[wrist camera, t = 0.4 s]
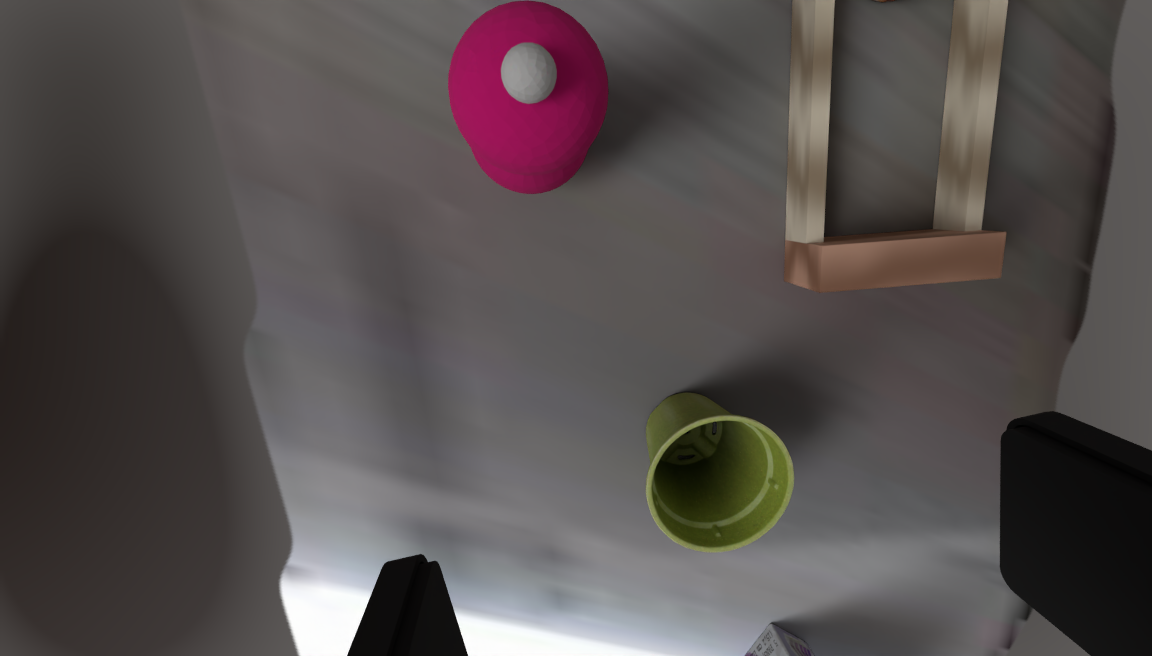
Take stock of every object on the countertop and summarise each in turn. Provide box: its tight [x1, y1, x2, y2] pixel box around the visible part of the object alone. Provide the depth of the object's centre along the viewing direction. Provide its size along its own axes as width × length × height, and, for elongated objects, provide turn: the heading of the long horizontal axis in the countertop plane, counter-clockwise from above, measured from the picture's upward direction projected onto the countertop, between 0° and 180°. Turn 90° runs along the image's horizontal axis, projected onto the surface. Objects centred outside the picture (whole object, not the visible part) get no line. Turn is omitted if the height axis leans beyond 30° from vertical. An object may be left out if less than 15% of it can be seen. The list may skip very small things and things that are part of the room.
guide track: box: [784, 0, 1008, 293], centre depth 34 cm, size 26×12×5 cm, turn 4°
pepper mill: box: [448, 1, 608, 194], centre depth 26 cm, size 7×7×20 cm
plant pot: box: [646, 393, 794, 553], centre depth 37 cm, size 9×9×9 cm
